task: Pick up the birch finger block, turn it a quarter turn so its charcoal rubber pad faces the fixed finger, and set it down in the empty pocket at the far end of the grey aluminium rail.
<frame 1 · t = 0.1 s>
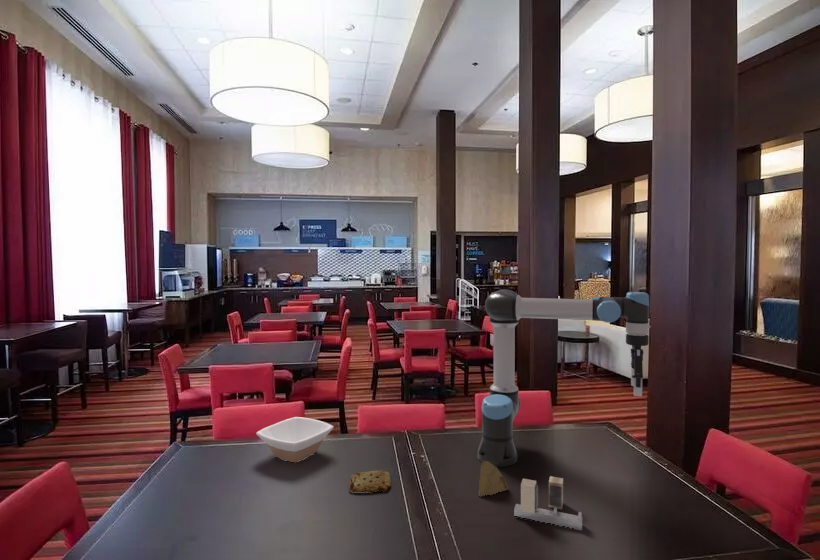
hand: (636, 390, 170), 28 cm above the table, fingers open, 13 cm apart
pastry: (369, 485, 159), on the table
rail: (547, 520, 135), on the table
rock: (493, 492, 153), on the table
finger block: (555, 505, 144), on the table
bowl: (296, 455, 183), on the table
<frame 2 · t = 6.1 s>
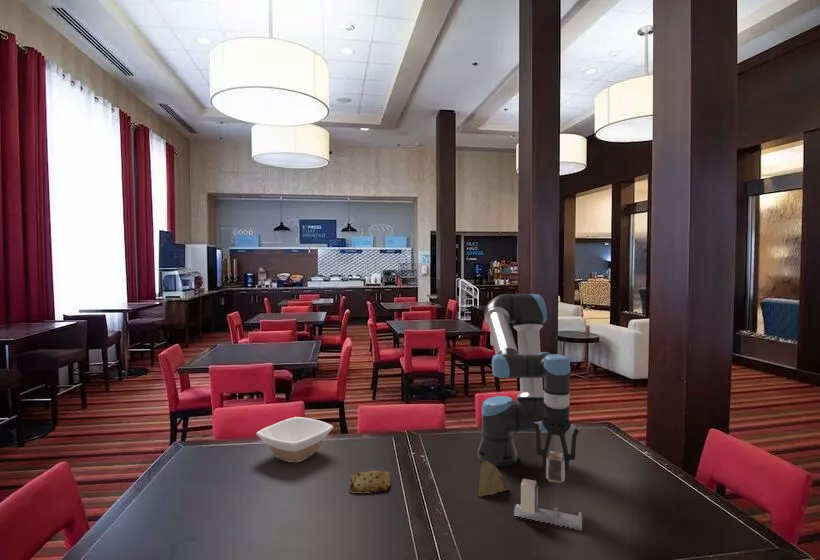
hand: (555, 477, 144), 8 cm above the table, fingers closed on finger block, 4 cm apart
finger block: (555, 479, 144), point 8 cm above the table, touching gripper
everything else where it was.
when the fingers open (3 cm above the table, at t = 9.3 s): finger block stays where it is, resting on rail.
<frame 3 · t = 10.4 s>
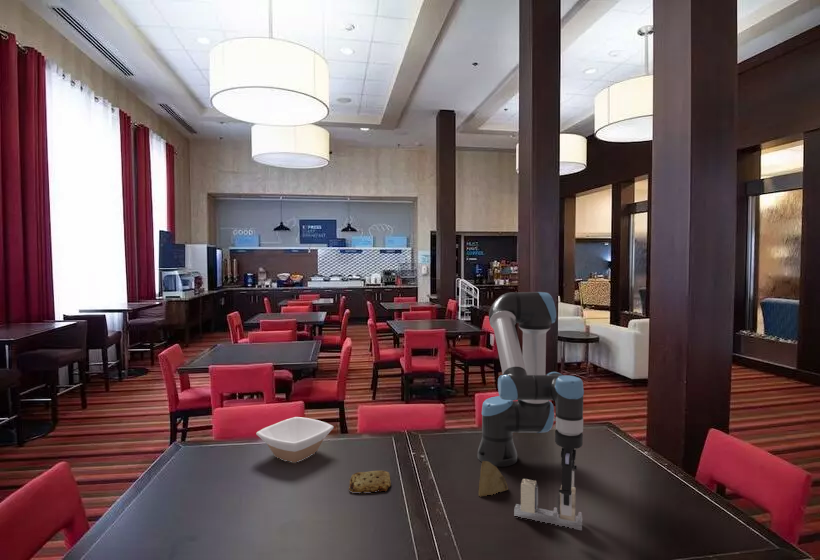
hand: (567, 502, 133), 6 cm above the table, fingers open, 13 cm apart
finger block: (567, 516, 133), point 2 cm above the table, touching rail
everything else where it was.
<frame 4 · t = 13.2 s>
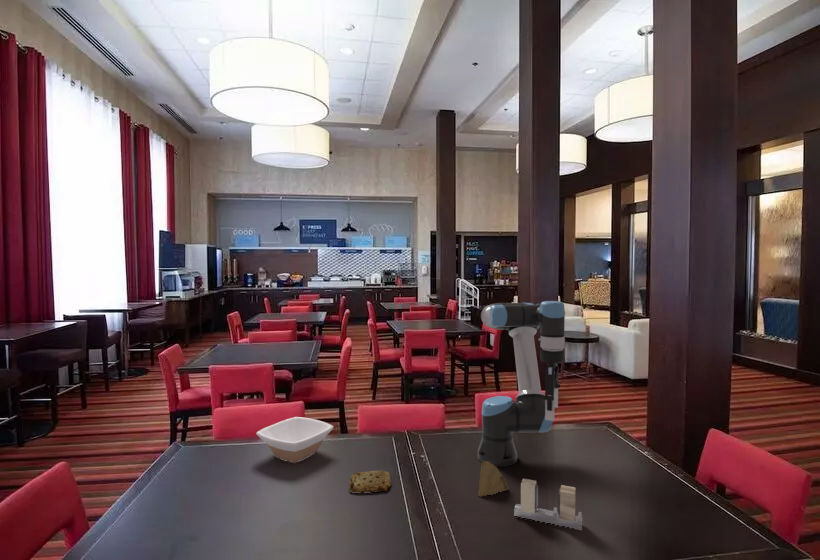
hand: (551, 413, 150), 27 cm above the table, fingers open, 13 cm apart
nothing on the table moved.
at the end: finger block 0.2 cm from the target spot on the rail, point 2.5 cm above the rail's base; finger block tilted 0°; the gripper is holding nothing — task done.
